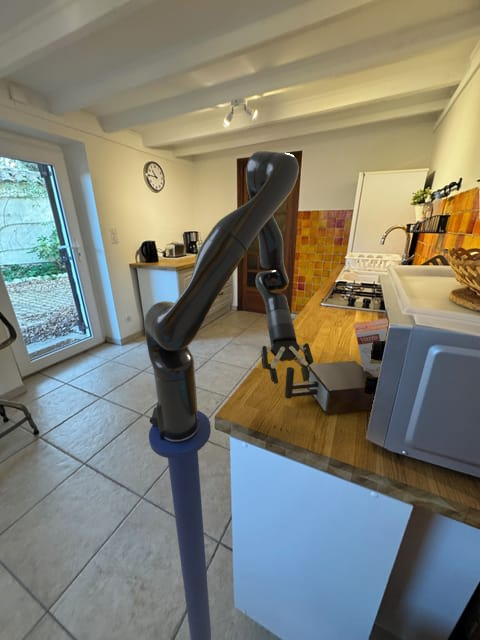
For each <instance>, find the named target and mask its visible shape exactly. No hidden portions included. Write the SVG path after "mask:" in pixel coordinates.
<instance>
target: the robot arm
mask: <svg viewBox="0 0 480 640" xmlns="http://www.w3.org/2000/svg"><path fill="white" fill-rule="evenodd" d="M299 170H300V165H299V162H298V159H297V158H296V157H295V156H294V155H293V154H290V153H286V152H282V151H281V152H280V151H279V152H278V151H267V150H258V151H255V152H254V153H252V155H251V156H250V157H249V158H248V161H247V164H246V168H245V182H246V188H247V192H248V197H249V200H248V201H247V202H246V203H244V204H243V205H241V206H239V207H238V208H236V209H234V210H233V211H231V212H230V213H228V214H226V215H225V216H224V217H222V218H221V219H219V221H217V222H216V223H215V225H214V226H213V227H212V228H211V230H210V231H209V233H208V234H207V236H206V237H205V238H204V240H203V241H202V243H201V245H200V247H199V249H198V252H197V254H196V259H195V261H194V265H193V270H192V274H191V276H190V278H189V281H188V283H187V285H186V287H185V288H184V290H182V293H181V294H180V295H179V296H178V298H177V299H176V301H175V302H172V301H169V300H162V301H159V302H156V303H154V304H153V305H152V306H150V307H149V309H148V310H147V312H146V314H145V317H144V323H143V324H144V335H145V340H146V346H147V353H148V357H149V361H150V364H151V366H152V370H153V376H154V384H155V391H156V393H155V394H156V399H157V401H156V406H155V407H154V408H153V410H152V415H151V417H150V418H149V423H150V424H151V426H152V425H153V427H159V433H160V440H166V441H168V442H172V443H180V442H184V441H187V440H189V439H191V438H192V437H193V436H195V434H196V433H197V431H198V429H199V422H198V411H199V410H198V398H197V386H196V385H197V384H196V371H195V370H196V369H195V368H196V367H195V359H194V357H193V354H192V352H191V350H190V349H189V345H191V344H192V343H193V341H194V340H195V338H196V337H197V335H198V333H199V332H200V330H201V328H202V326H203V324H204V322H205V321H206V318H207V316H208V314H209V313H210V310H211V309H212V307H213V305H214V303H215V302H216V300H217V298H218V296H219V295H220V294H221V292H222V290H223V289H224V287H225V286H226V284H227V283H228V281H229V279H230V278H231V277H232V275H233V274H234V272H235V271H236V269H237V268H238V267H239V265H240V264H241V262H242V260H243V259H244V258H245V256H246V254H247V253H248V252H249V250H250V248H251V246H252V245H253V243H254V242H255V240H256V238H257V240H258V251H259V263H260V266H261V268H262V269H264V270H265V271H260V272H258V273H257V274H256V276H255V286H256V289H257V290H258V292H259V294H260V296H261V298H262V300H263V303H264V307H265V313H266V324H267V330H268V335H269V342H270V346H266V345H263V346H262V347H261V349H260V357H261V367H262V369H264V370H268V371H269V375H270V381H271V383H273V384H274V385H277V384H279V378H278V373H277V368H276V367H277V365H278V362H279V361H280V362H281V363H283V362H286V361H287V362H292V361H294V362H295V364H298V365H299V367H301V368H300V372H301V375H302V380H303V382H308V378H310V375H309V367H308V366H309V365H311V364H314V362H315V361H314V358H313V354H312V351H311V347H310V344H309V343H308V342H306V343H304V344H299V343H298V340H297V335H296V330H295V325H294V321H293V318H292V314H291V312H290V311H291V310H290V307H289V302H288V298H287V296H286V295H285V294H283V293H278V292H282V291H285V290H286V289H287V288H288V287H289V284H290V283H289V282H290V280H289V276H288V273H287V270H286V266H285V262H284V239H283V238H284V237H283V234H282V232H281V230H280V227H279V224H278V223H277V221H276V219H275V216H274V214H275V213H276V212H277V210H278V209H279V208H280V207H281V206H282V204H283V203H284V202H285V201H286V200H287V198H288V197H289V195H290V194H291V192H292V191H293V189H294V187H295V186H296V182H297V180H298V176H299V172H300V171H299ZM299 351H301V352H302V353H303V355H301V353H299ZM270 353H271V354H272V355H273V356H274V357H273V359H272V361H271V363H269V359H268V355H269V354H270ZM197 410H198V411H197Z"/></svg>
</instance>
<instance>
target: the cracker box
mask: <svg viewBox="0 0 480 640" xmlns="http://www.w3.org/2000/svg"><path fill="white" fill-rule="evenodd" d="M387 318H388V317H385V318H380V319H374V320H369V321H361V322H357V323H353V328H354V333H355V337H356V342H357V346H358V352H359V357H360V361H361V366H362V367H363V370H364V371H368V372H369V373H370V374H372V375H373V376H374V377H378V374H379V370H380V366H381V361H377V360H373V359H371V350H372V344H373V341H374V340H380V341H384V340H385V338H386V333H387V326H388V320H387Z"/></svg>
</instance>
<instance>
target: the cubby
mask: <svg viewBox="0 0 480 640" xmlns="http://www.w3.org/2000/svg"><path fill="white" fill-rule="evenodd" d="M308 370H309V374H310V370H311V371H312V372H313V374H314V375H315V376H316V377H317V379H318V380H319V381H320V382H321V384H322V385H323V386H324V387H325V389H326V390H327V391H328V392H329V396H328V403H327V410H326V411H325V414H326V415H337V414H338V415H339V414H345V413H355V412H365V411H372V410H371V409H372V404H373V400H374V395H368V394H365V393H364V386H365V379H366V376H372V377H374V376H373V375H372V374H370V373H369V372H368V371H364V370H363V366H362V364H360V363H359V362H358V361H356V360H347V361H334V362H321V363H312V364H311V365H309V366H308ZM307 382H309V378H308V381H307Z"/></svg>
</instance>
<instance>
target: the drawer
mask: <svg viewBox="0 0 480 640" xmlns="http://www.w3.org/2000/svg"><path fill="white" fill-rule="evenodd" d="M309 375H310V378H309V382H308V381H303V382H295V383H294V379H295V368H294V367H291V366H290V367H289V366H288V367H286V376H285V388H284V397H285V399H288V400H290V399H292V398H296V397H306V396H314V398H315V399H316V401H317V402H318V404H319V405H320V406H321V409H323V411H324V412H326V410H327V403H328V396H329V392H328V391H327V390H326V389H325V387H324V386H323V385H322V384H321V382H320V381H319V380H318V379H317V377H316V376H315V375H314V374H313V372H312V371H311V370H310V374H309Z"/></svg>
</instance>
